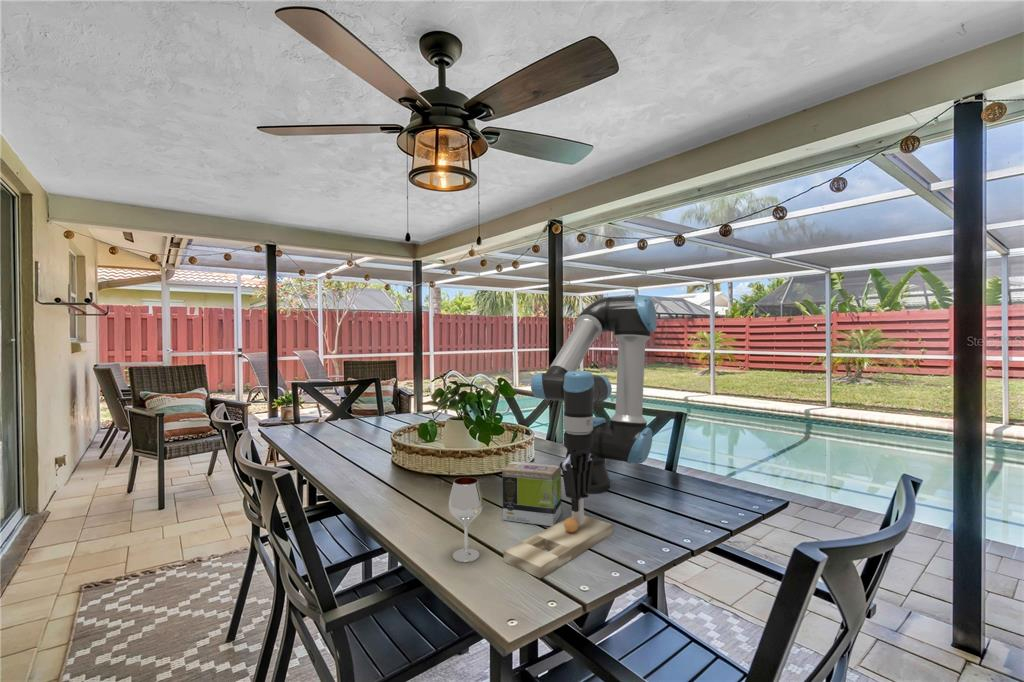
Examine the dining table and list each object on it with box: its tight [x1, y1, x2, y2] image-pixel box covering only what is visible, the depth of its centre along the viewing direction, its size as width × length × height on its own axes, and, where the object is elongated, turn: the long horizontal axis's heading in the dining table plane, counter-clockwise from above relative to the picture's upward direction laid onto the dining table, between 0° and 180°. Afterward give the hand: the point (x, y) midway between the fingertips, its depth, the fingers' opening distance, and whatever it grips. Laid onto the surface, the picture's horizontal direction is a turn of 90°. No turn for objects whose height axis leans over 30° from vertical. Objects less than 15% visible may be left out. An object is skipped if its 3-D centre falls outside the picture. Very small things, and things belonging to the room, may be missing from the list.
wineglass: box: [448, 476, 484, 563], centre depth 112 cm, size 8×8×18 cm
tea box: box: [501, 460, 562, 527], centre depth 135 cm, size 15×10×15 cm, turn 71°
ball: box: [564, 517, 578, 532], centre depth 120 cm, size 4×4×4 cm
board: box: [503, 514, 613, 579], centre depth 117 cm, size 11×30×2 cm, turn 137°
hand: (577, 522), depth 122 cm, fingers closed
